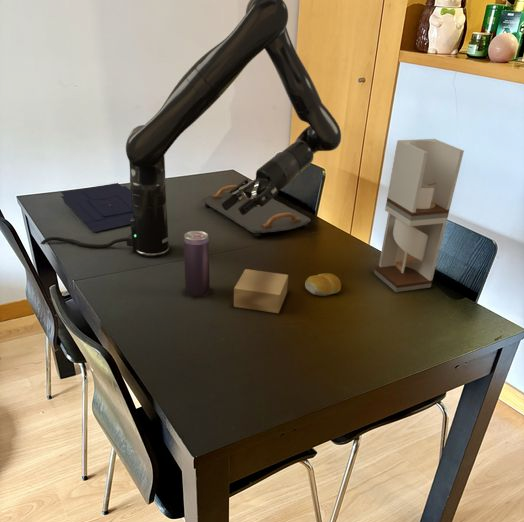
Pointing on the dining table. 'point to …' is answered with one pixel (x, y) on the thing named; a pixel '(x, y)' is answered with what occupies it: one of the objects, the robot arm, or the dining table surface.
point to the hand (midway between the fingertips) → (231, 209)
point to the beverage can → (196, 263)
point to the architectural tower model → (417, 211)
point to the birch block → (260, 291)
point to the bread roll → (323, 284)
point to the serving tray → (258, 214)
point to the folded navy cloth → (101, 205)
